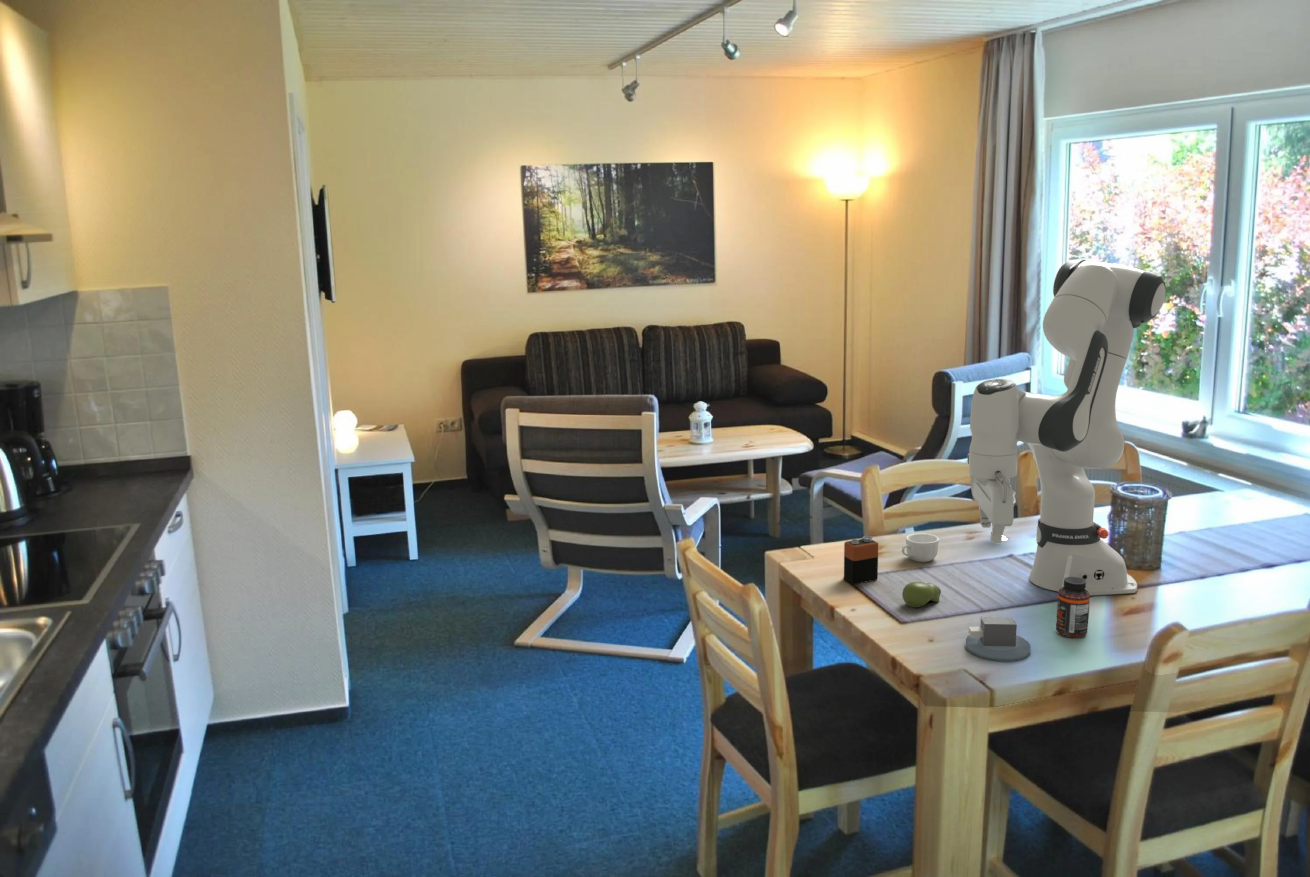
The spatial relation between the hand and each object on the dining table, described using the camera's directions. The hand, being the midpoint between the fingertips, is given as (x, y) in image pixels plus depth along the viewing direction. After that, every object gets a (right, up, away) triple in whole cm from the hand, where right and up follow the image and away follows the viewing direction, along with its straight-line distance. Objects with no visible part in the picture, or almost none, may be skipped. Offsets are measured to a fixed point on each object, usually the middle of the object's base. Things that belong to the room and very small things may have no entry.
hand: (990, 534), depth 202 cm
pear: (-7, -17, +24) cm, 31 cm away
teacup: (-1, -11, +51) cm, 52 cm away
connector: (0, -21, 0) cm, 21 cm away
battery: (-18, -14, +39) cm, 45 cm away
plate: (+1, -22, 0) cm, 22 cm away
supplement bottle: (+18, -21, +7) cm, 28 cm away
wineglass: (+24, -7, +66) cm, 70 cm away
